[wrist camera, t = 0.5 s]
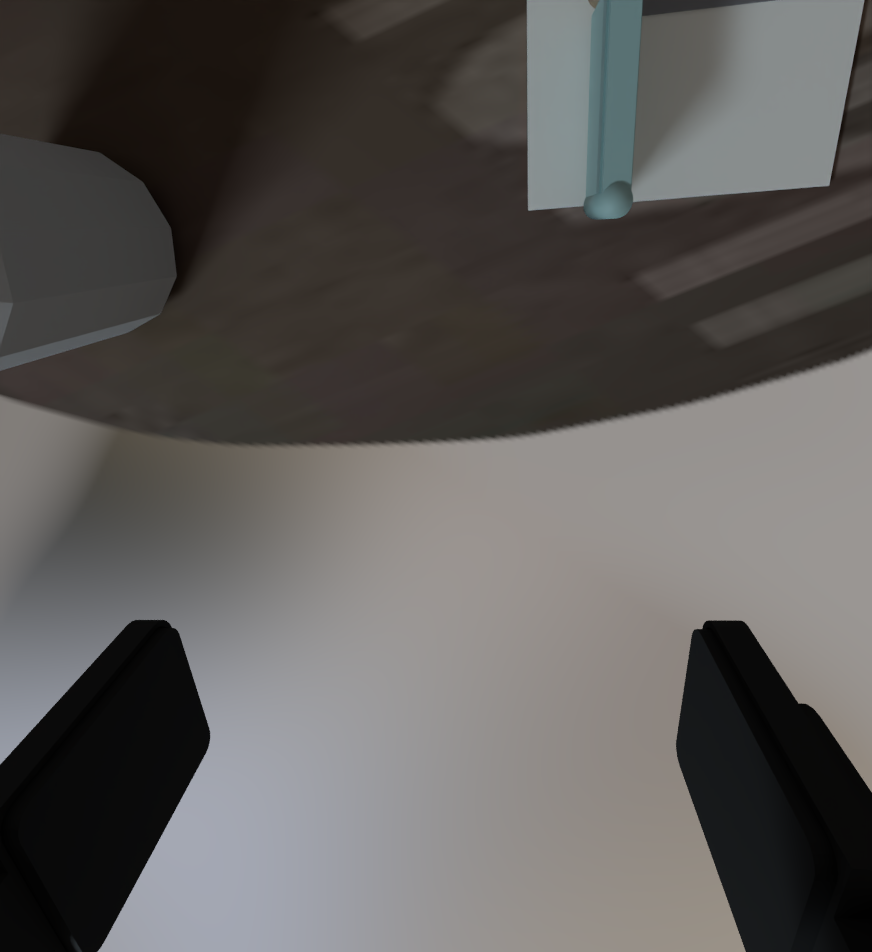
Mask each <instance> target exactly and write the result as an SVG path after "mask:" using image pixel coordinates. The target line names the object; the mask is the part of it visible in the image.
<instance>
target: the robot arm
mask: <svg viewBox="0 0 872 952" xmlns="http://www.w3.org/2000/svg"><path fill="white" fill-rule="evenodd" d="M209 741H210V730H209V727H208V723H207V720H206V717H205V714H204V711H203V708H202V705H201V701H200V698H199V695H198V692H197V689H196V685H195V682H194V679H193V676H192V673H191V670H190V667H189V663H188V660H187V657H186V654H185V651H184V648H183V645H182V641H181V638H180V635H179V633H178V631H177V630H176V629H174V628H172V627H171V625H170V624H169V623H168V622H167V621H165V620H135V621H132V622H131V623H129V624H128V625H127V626H126V627H125V628H124V630H122V632H121V633H120V634H119V635H118V636H117V637H116V638H115V639H114V641H112V643H111V644H110V645H109V646H108V647H107V648H106V649H105V650H104V651H103V652H102V654H101V655H100V656H99V657H98V658H97V659H96V660H95V661H94V662H93V663H92V665H91V666H90V667H89V668H88V669H87V670H86V671H85V672H84V673H83V675H82V676H81V677H80V678H79V679H78V680H77V681H76V682H75V683H74V684H73V685H72V687H71V688H70V689H69V690H68V691H67V692H66V693H65V694H64V695H63V696H62V698H61V699H60V700H59V701H58V702H57V703H56V704H55V705H54V706H53V707H52V708H51V710H50V711H49V712H48V713H47V714H46V715H45V716H44V717H43V719H41V721H40V722H39V723H38V724H37V725H36V726H35V727H34V728H33V729H32V730H31V732H30V733H29V734H28V735H27V736H26V737H25V738H24V739H23V740H22V742H21V743H20V744H19V745H18V746H17V747H16V748H15V749H14V750H13V751H12V752H11V754H10V755H9V756H8V757H7V758H6V759H5V760H4V761H3V762H2V763H1V765H0V952H97V951H98V950H99V949H100V947H101V946H102V944H103V943H104V941H105V939H106V937H107V935H108V934H109V932H110V930H111V928H112V926H113V924H114V922H115V921H116V919H117V917H118V915H119V913H120V911H121V910H122V908H123V906H124V904H125V902H126V900H127V898H128V897H129V894H130V893H131V891H132V889H133V887H134V885H135V884H136V882H137V880H138V878H139V876H140V874H141V872H142V870H143V869H144V867H145V865H146V863H147V861H148V859H149V858H150V856H151V854H152V852H153V850H154V848H155V846H156V845H157V843H158V841H159V839H160V837H161V835H162V833H163V832H164V830H165V828H166V826H167V824H168V822H169V820H170V819H171V817H172V815H173V813H174V811H175V809H176V807H177V805H178V804H179V802H180V800H181V798H182V796H183V794H184V793H185V791H186V788H187V787H188V785H189V783H190V781H191V779H192V778H193V776H194V774H195V772H196V770H197V768H198V767H199V765H200V763H201V761H202V759H203V757H204V755H205V754H206V751H207V749H208V746H209ZM676 749H677V757H678V761H679V764H680V768H681V771H682V773H683V776H684V779H685V782H686V785H687V787H688V790H689V793H690V796H691V799H692V801H693V804H694V807H695V810H696V812H697V815H698V818H699V821H700V824H701V827H702V830H703V832H704V835H705V838H706V841H707V844H708V846H709V849H710V852H711V855H712V858H713V860H714V863H715V866H716V869H717V872H718V875H719V877H720V880H721V883H722V886H723V889H724V891H725V894H726V897H727V900H728V903H729V905H730V908H731V911H732V914H733V917H734V919H735V922H736V925H737V928H738V931H739V934H740V936H741V939H742V942H743V945H744V947H745V950H746V952H872V792H871V791H870V789H869V788H868V786H867V785H866V784H865V782H864V781H863V779H862V778H861V776H860V775H859V773H858V772H857V770H856V769H855V767H854V766H853V764H852V763H851V761H850V760H849V759H848V757H847V755H846V754H845V753H844V751H843V750H842V748H841V747H840V745H839V744H838V742H837V741H836V739H835V738H834V737H833V735H832V733H831V732H830V730H829V729H828V727H827V726H826V725H825V723H824V722H823V720H822V719H821V717H820V716H819V715H818V714H817V713H816V711H815V710H814V709H813V708H812V707H810V706H809V705H807V704H798V702H797V701H796V700H795V698H794V696H793V695H792V693H791V692H790V690H789V688H788V687H787V686H786V684H785V682H784V681H783V679H782V678H781V676H780V675H779V673H778V672H777V670H776V669H775V667H774V665H773V664H772V663H771V661H770V659H769V658H768V656H767V655H766V653H765V652H764V650H763V649H762V647H761V646H760V644H759V642H758V641H757V639H756V638H755V636H754V635H753V633H752V632H751V630H750V629H749V627H748V626H747V625H746V624H745V622H743V621H706V622H705V623H704V625H703V629H696V630H694V631H693V633H692V639H691V645H690V652H689V659H688V665H687V673H686V679H685V686H684V693H683V699H682V706H681V713H680V720H679V726H678V734H677V740H676Z"/></svg>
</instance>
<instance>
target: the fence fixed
mask: <svg viewBox="0 0 872 952" xmlns="http://www.w3.org/2000/svg"><path fill="white" fill-rule="evenodd" d="M588 1H589V3H590V5H591V6H592V7H593V8H596V6H597V4H598V2H599V0H588Z"/></svg>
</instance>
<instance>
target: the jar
mask: <svg viewBox="0 0 872 952" xmlns="http://www.w3.org/2000/svg"><path fill="white" fill-rule="evenodd" d="M176 277H177V273H176V265H175V257H174V248H173V240H172V232H171V227H170V226H169V224H168V222H167V221H166V219H165V217H164V216H163V214H162V212H161V211H160V209H159V207H158V206H157V204H156V203H155V201H154V199H153V198H152V196H151V194H150V193H149V191H148V189H147V188H146V186H145V184H144V183H143V182H142V181H141V180H139V179H138V178H136V177H135V176H133V175H132V174H131V173H129V172H128V171H126V170H125V169H123V168H122V167H120V166H119V165H117V164H116V163H114V162H113V161H112V160H110V159H109V158H107V157H106V156H104V155H103V154H101V153H100V152H95V151H90V150H85V149H79V148H74V147H69V146H63V145H58V144H52V143H47V142H42V141H36V140H31V139H26V138H20V137H15V136H10V135H4V134H0V371H1V370H4V369H7V368H11V367H14V366H17V365H21V364H24V363H28V362H31V361H34V360H38V359H41V358H44V357H48V356H51V355H54V354H58V353H61V352H64V351H68V350H71V349H74V348H78V347H81V346H84V345H88V344H91V343H94V342H98V341H101V340H105V339H108V338H111V337H115V336H118V335H121V334H125V333H128V332H130V331H132V330H133V329H135V328H137V327H139V326H140V325H142V324H144V323H146V322H147V321H149V320H151V319H153V318H154V317H156V316H158V315H159V314H161V312H162V310H163V308H164V305H165V303H166V301H167V298H168V296H169V294H170V291H171V289H172V286H173V284H174V282H175V279H176Z"/></svg>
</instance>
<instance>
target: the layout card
mask: <svg viewBox="0 0 872 952" xmlns="http://www.w3.org/2000/svg"><path fill="white" fill-rule="evenodd" d="M863 5H864V0H643V10H642V27H641V43H640V59H639V75H638V91H637V107H636V124H635V140H634V156H633V172H632V188H631V191H632V194H633V202H638V201H650V200H662V199H674V198H686V197H698V196H710V195H723V194H735V193H747V192H759V191H771V190H783V189H795V188H807V187H819V186H829V184H830V179H831V173H832V168H833V163H834V158H835V152H836V147H837V142H838V137H839V131H840V126H841V121H842V116H843V110H844V105H845V100H846V95H847V89H848V84H849V79H850V74H851V68H852V63H853V58H854V53H855V47H856V42H857V37H858V32H859V26H860V21H861V16H862V11H863ZM594 10H595V8H593V7H592V6H591V5H590V3H589V1H588V0H527V115H528V211H529V210H541V209H553V208H565V207H578V206H584V201H585V198H586V174H587V143H588V112H589V81H590V50H591V19H592V14H593V12H594Z"/></svg>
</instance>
